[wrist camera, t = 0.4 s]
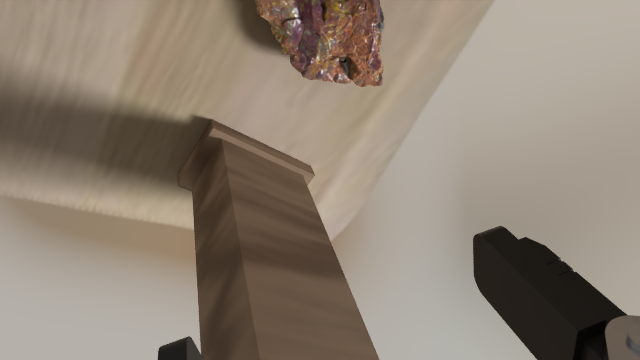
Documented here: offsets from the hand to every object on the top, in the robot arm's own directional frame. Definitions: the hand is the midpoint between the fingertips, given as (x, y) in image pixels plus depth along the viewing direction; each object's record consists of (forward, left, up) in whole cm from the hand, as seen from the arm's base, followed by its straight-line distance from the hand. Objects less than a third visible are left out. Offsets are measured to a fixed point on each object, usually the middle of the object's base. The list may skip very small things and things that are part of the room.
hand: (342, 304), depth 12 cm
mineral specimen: (-5, +4, -26) cm, 26 cm away
